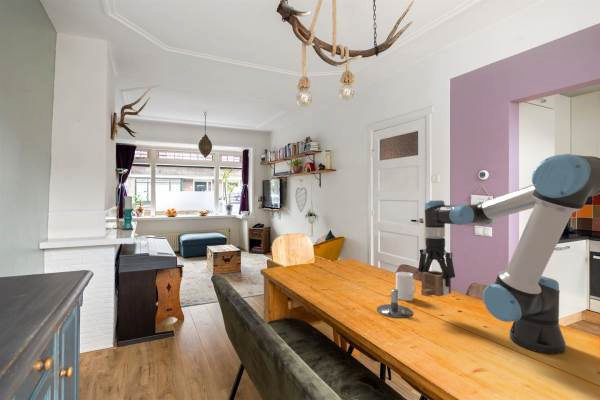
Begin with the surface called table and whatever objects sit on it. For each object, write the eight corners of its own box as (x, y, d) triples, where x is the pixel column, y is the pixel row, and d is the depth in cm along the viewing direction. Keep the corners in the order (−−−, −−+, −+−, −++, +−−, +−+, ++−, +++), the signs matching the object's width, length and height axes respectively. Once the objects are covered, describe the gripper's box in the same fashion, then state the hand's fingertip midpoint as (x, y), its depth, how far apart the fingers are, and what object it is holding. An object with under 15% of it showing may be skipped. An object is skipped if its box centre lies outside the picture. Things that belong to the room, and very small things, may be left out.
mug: (421, 301, 147) (421, 276, 147) (406, 303, 144) (406, 278, 144) (406, 294, 158) (406, 271, 158) (391, 295, 156) (391, 272, 155)
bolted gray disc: (375, 304, 144) (375, 284, 143) (408, 305, 141) (408, 285, 141) (378, 316, 129) (378, 294, 129) (416, 318, 127) (416, 296, 126)
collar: (433, 288, 134) (433, 270, 134) (450, 293, 127) (450, 273, 127) (415, 293, 128) (415, 274, 128) (432, 298, 121) (432, 277, 121)
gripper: (464, 238, 122) (465, 296, 122) (419, 234, 140) (420, 285, 139) (453, 240, 118) (454, 299, 118) (408, 235, 136) (409, 287, 135)
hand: (436, 291), depth 128 cm, fingers closed on collar, 8 cm apart
